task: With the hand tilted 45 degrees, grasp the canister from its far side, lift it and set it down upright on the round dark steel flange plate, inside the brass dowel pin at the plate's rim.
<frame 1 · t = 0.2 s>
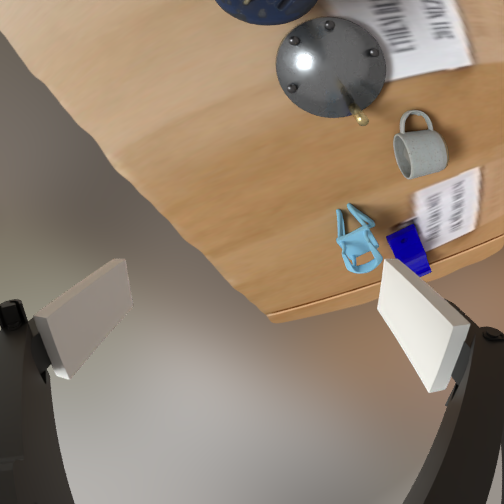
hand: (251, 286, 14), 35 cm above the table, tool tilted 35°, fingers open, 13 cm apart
ceramic mug: (410, 135, 41), on the table
light blue stand: (351, 218, 57), on the table
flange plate: (331, 66, 34), on the table
mounting bracket: (408, 249, 64), on the table
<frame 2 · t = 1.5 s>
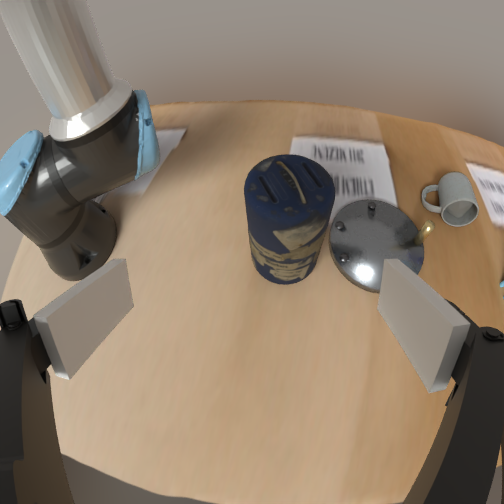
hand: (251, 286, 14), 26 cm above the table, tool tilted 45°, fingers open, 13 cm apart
canister: (284, 258, 43), on the table
ceramic mug: (442, 209, 46), on the table
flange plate: (377, 245, 43), on the table
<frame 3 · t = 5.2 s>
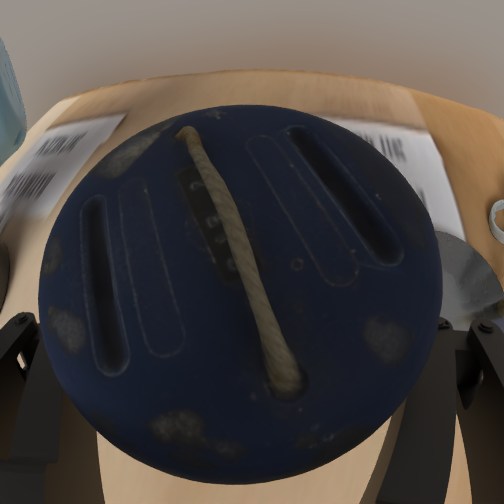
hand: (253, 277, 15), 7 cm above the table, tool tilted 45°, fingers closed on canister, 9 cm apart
canister: (258, 357, 20), on the table, touching gripper
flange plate: (438, 321, 20), on the table
when the fingers open (10 cm above the table, at t = 11.1 s): canister stays where it is, resting on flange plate.
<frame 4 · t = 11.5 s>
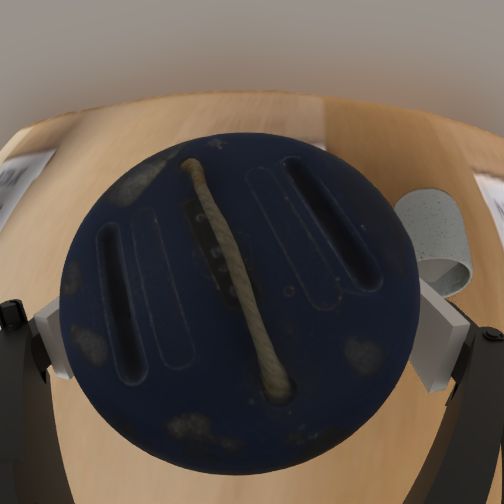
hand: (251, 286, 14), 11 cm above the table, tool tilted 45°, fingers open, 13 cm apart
canister: (257, 360, 21), point 1 cm above the table, touching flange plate
ceramic mug: (400, 262, 26), on the table
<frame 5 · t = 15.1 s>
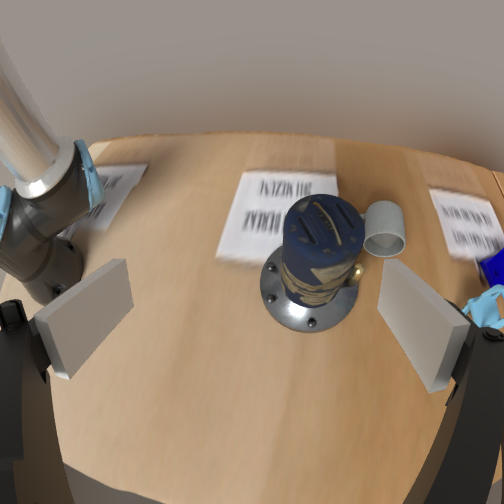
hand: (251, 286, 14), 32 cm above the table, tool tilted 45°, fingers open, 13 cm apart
canister: (309, 283, 46), point 1 cm above the table, touching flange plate
ceramic mug: (371, 238, 51), on the table
light blue stand: (464, 325, 41), on the table
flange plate: (309, 285, 47), on the table
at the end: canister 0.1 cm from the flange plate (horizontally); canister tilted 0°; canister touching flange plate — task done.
